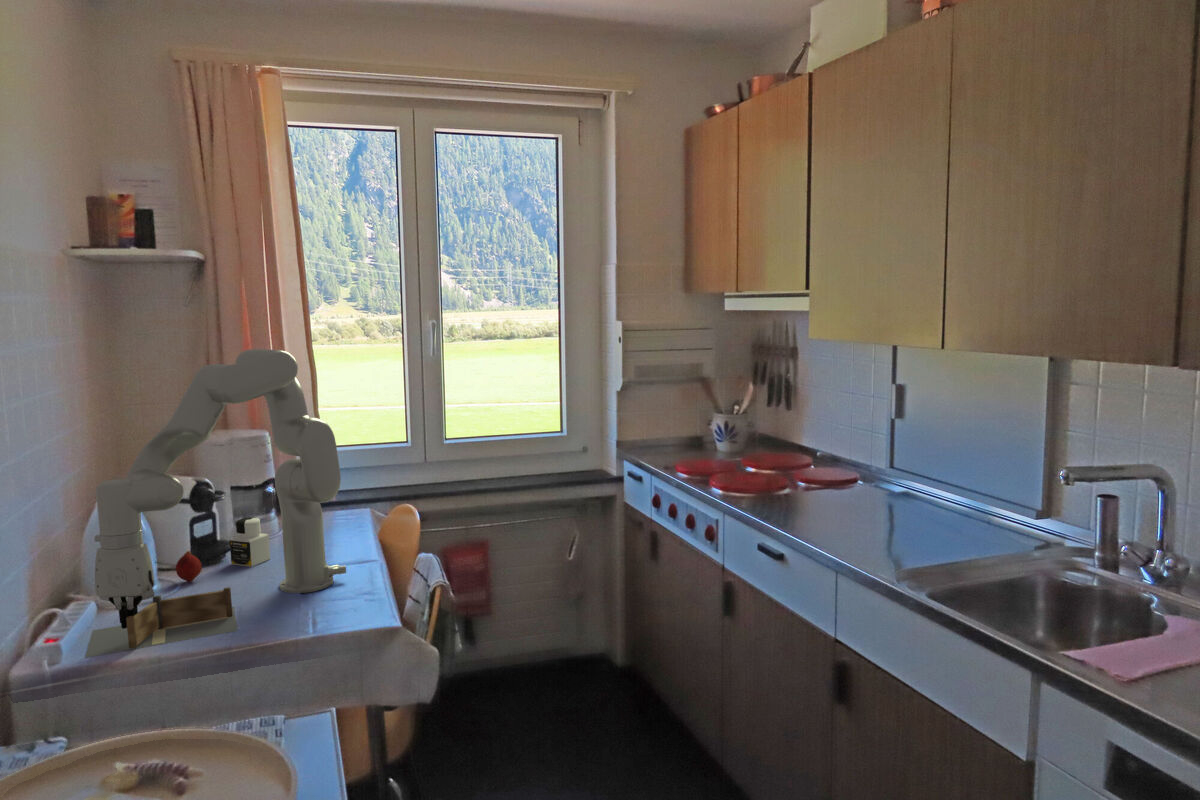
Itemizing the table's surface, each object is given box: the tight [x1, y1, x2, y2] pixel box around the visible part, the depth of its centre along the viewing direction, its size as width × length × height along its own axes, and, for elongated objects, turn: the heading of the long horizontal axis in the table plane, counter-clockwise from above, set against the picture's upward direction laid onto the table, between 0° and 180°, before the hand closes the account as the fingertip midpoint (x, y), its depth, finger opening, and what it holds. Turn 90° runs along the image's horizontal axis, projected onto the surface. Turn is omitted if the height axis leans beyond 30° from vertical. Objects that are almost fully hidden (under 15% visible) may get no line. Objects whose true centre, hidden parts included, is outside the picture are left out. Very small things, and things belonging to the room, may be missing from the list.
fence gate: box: [126, 601, 159, 648], centre depth 176 cm, size 11×1×6 cm, turn 2°
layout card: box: [84, 606, 238, 659], centre depth 181 cm, size 28×16×1 cm, turn 116°
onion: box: [175, 550, 202, 583], centre depth 213 cm, size 6×6×8 cm
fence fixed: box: [152, 586, 233, 629], centre depth 185 cm, size 15×2×7 cm, turn 116°
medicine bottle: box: [229, 516, 271, 568], centre depth 228 cm, size 7×7×12 cm
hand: (129, 625), depth 175 cm, fingers closed
